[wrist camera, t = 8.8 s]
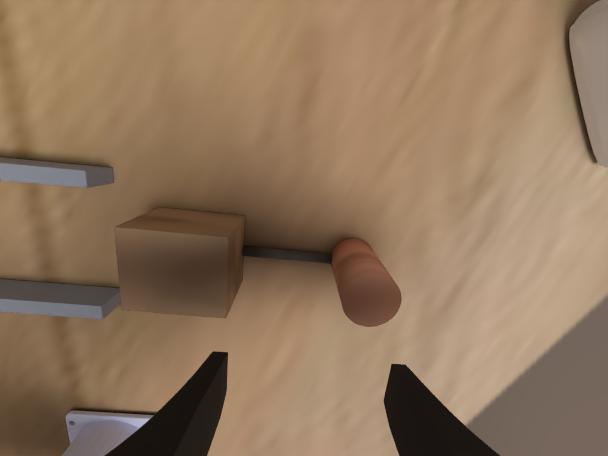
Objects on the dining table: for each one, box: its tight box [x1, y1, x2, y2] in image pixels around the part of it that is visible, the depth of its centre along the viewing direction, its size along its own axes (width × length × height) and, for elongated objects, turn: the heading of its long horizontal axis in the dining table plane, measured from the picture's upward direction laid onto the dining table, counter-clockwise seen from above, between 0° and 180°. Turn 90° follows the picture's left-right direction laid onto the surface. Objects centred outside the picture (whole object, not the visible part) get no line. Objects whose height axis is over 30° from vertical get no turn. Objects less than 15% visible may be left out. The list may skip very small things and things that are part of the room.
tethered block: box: [114, 208, 401, 327], centre depth 18 cm, size 5×16×6 cm, turn 84°
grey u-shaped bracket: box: [0, 157, 121, 319], centre depth 19 cm, size 10×12×2 cm
